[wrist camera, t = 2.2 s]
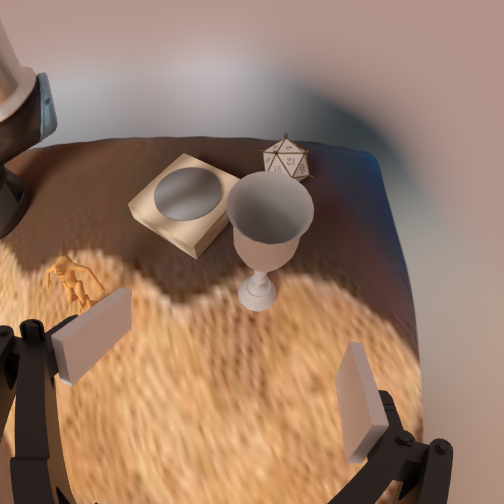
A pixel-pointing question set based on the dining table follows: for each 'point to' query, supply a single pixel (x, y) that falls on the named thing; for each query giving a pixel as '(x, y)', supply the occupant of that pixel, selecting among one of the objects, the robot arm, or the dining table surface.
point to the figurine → (73, 281)
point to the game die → (287, 159)
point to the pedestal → (186, 204)
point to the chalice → (267, 229)
